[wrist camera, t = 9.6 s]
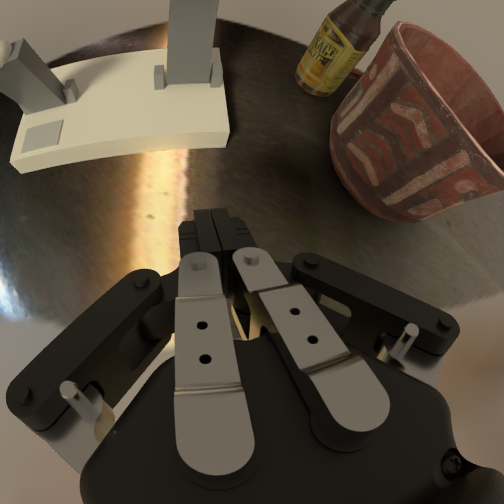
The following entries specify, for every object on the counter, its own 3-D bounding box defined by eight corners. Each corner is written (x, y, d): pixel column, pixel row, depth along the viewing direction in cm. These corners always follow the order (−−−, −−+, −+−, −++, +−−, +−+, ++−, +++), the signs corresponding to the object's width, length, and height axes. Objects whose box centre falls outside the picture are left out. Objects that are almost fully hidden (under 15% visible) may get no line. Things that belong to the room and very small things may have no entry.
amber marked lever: (208, 83, 25) (225, -36, 14) (166, 84, 24) (174, -37, 13) (206, 74, 26) (221, -36, 15) (167, 75, 25) (175, -36, 14)
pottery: (425, 160, 36) (506, 103, 19) (411, 261, 31) (533, 221, 14) (330, 94, 34) (395, 3, 17) (289, 187, 29) (388, 69, 12)
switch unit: (225, 147, 28) (234, 116, 23) (21, 173, 23) (-1, 151, 17) (215, 63, 31) (222, 33, 26) (46, 86, 25) (34, 60, 20)
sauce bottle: (287, 68, 33) (344, -42, 14) (324, 72, 35) (388, -24, 16) (301, 100, 32) (375, -18, 13) (340, 103, 34) (420, 4, 15)
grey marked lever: (64, 107, 22) (7, 52, 9) (32, 115, 21) (-32, 73, 8) (67, 86, 22) (17, 26, 9) (35, 95, 21) (-23, 46, 8)
